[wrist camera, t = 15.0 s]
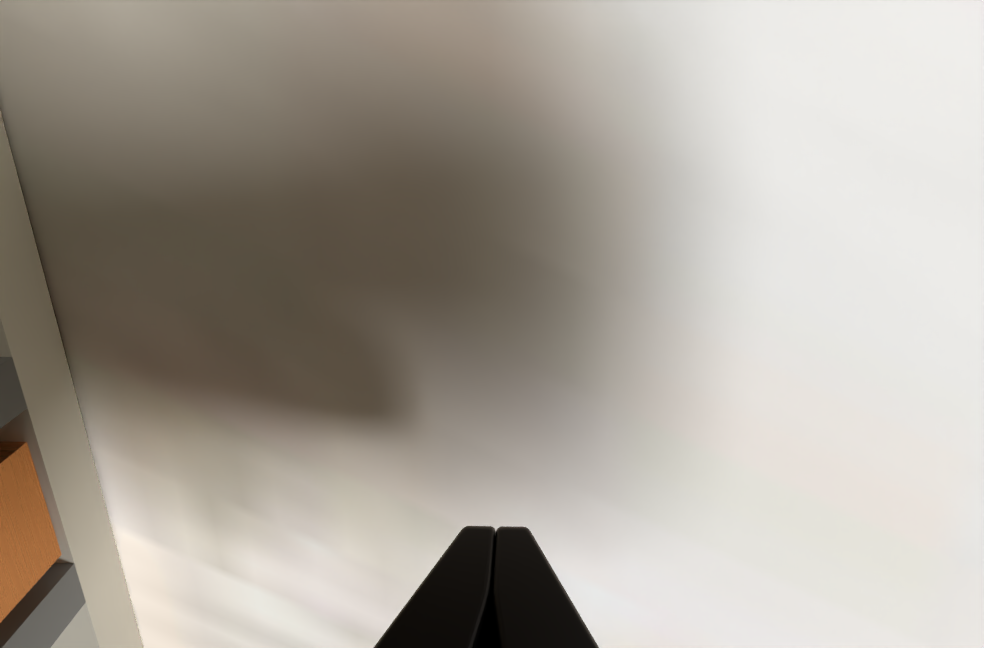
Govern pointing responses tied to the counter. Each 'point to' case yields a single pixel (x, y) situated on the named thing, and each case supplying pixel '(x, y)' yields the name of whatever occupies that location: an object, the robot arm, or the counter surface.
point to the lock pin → (22, 526)
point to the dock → (53, 455)
